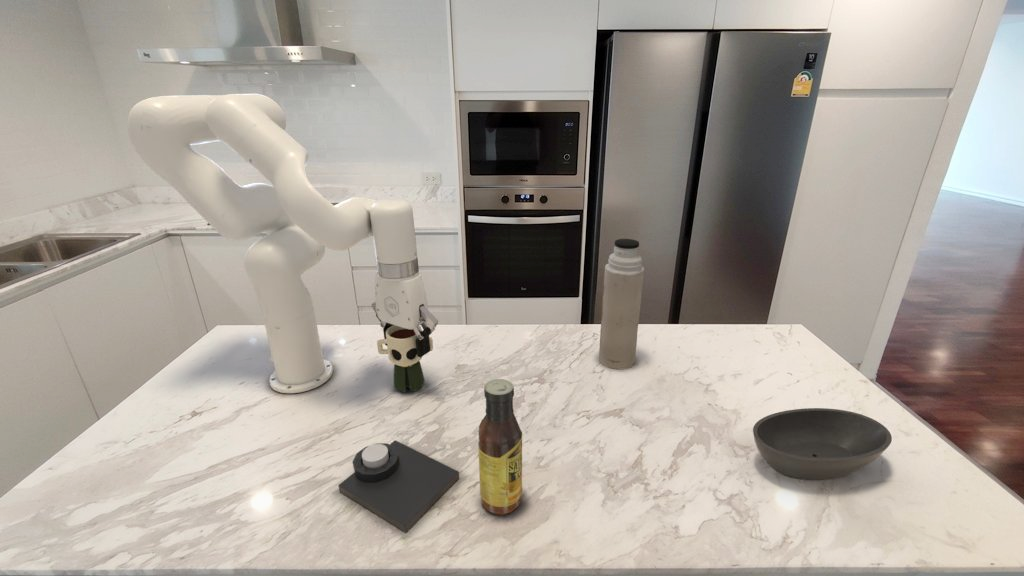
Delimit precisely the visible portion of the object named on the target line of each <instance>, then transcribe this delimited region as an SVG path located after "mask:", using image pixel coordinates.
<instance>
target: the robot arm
mask: <svg viewBox="0 0 1024 576" xmlns="http://www.w3.org/2000/svg"><path fill="white" fill-rule="evenodd" d="M286 126H287V119H286V116H285V113H284V111H283V109H282V108H281V106H280V105H279V104H278V103H277V102H276V101H275V100H274V99H272V98H271V97H269V96H267V95H264V94H260V93H231V94H230V93H229V94H223V95H222V94H216V95H214V94H213V95H212V94H197V95H196V94H195V95H161V96H153V97H148V98H145V99H143V100H139V101H138V102H137V103H135V104H134V105H133V106H132V108H131V109H130V110H129V113H128V116H127V132H128V136H129V140H130V142H131V144H132V147H133V148H134V150H135V152H136V154H137V155H138V157H139V158H140V159H141V160H142V161H143V163H144V164H145V165H146V166H147V167H148V168H149V169H150V170H152V171H153V172H154V173H155V174H156V175H157V176H159V178H161V179H162V180H163V181H164V182H166V183H167V184H168V185H169V186H171V187H172V188H173V189H174V190H175V191H176V192H177V193H178V194H179V195H180V196H181V197H182V198H183V199H184V200H185V201H186V202H187V204H189V205H190V207H192V208H193V209H194V210H195V212H197V213H198V214H199V216H201V218H202V219H203V220H204V221H205V222H207V224H209V225H210V226H211V227H212V228H213V229H214V230H215V231H216V232H217V233H218V234H219V235H220V236H221V237H222V238H224V239H225V240H228V241H231V242H241V241H245V240H248V239H250V238H253V237H256V236H258V235H260V234H262V233H264V234H266V235H265V236H264V237H262V238H260V239H258V240H256V241H255V242H254V243H252V245H250V247H249V248H248V249H247V251H246V253H245V255H244V261H243V262H244V269H245V272H246V274H247V276H248V278H249V280H250V283H251V285H252V287H253V289H254V292H255V294H256V297H257V301H258V304H259V308H260V313H261V316H262V320H263V323H264V324H263V325H264V328H265V333H266V336H267V341H268V345H269V349H270V353H271V354H270V356H269V359H268V361H270V362H272V363H273V366H274V370H273V372H272V373H271V374H270V376H269V380H268V382H269V385H270V388H271V389H272V390H274V391H276V392H278V393H282V394H298V393H304V392H308V391H311V390H313V389H317V388H318V387H320V386H323V384H325V383H326V382H328V381H329V379H331V378H332V376H333V373H334V368H333V367H334V366H333V364H332V363H331V361H329V360H328V359H325V358H324V355H323V351H322V346H321V341H320V334H319V329H318V323H317V319H316V313H315V308H314V303H313V299H312V296H311V293H310V291H309V289H308V287H307V286H306V284H305V283H304V282H303V279H302V275H303V274H304V273H306V272H307V271H308V270H310V269H311V268H313V267H314V266H316V265H317V264H319V262H320V261H321V260H322V259H323V257H324V255H325V252H326V248H327V249H328V250H332V251H337V252H338V251H339V252H340V251H346V250H350V249H351V248H352V247H354V246H356V245H357V244H358V243H360V242H361V241H363V240H365V239H367V238H370V237H372V239H373V246H374V253H375V263H376V269H377V272H376V273H375V278H374V297H375V298H374V300H375V301H374V302H372V303H371V307H372V310H373V312H374V313H375V316H376V318H377V320H378V321H379V322H380V323H379V325H380V327H381V328H382V332H383V339H386V331H387V329H388V328H389V327H391V326H393V325H396V326H399V327H402V328H405V329H410V330H411V329H413V330H414V332H415V334H416V335H417V337H418V338H417V339H416V349H417V356H418V357H422V358H423V356H425V355H428V353H430V352H431V351H430V340H429V337H430V335H432V333H433V332H435V330H436V327H437V326H438V324H439V320H438V318H436V317H435V316H434V315H433V313H432V312H430V311H429V306H428V299H427V293H426V289H425V285H424V280H423V278H422V274H421V273H420V269H419V268H420V267H419V259H418V250H417V249H418V248H417V240H416V230H415V220H414V219H415V218H414V211H413V207H412V205H411V203H410V202H408V201H407V200H402V199H387V200H386V199H385V200H379V199H373V198H369V197H360V196H355V197H351V198H349V199H345V200H344V201H341V202H338V203H337V204H333V203H331V201H329V200H328V199H327V198H326V197H324V196H323V195H322V194H321V193H320V192H319V191H318V190H317V189H316V188H315V187H314V186H313V185H312V183H311V181H310V180H309V178H308V176H307V174H306V167H307V164H308V161H309V153H308V151H307V149H306V148H305V147H304V146H303V145H302V144H300V143H299V142H298V141H297V140H295V138H293V137H292V136H291V135H290V134H289V133H288V132H287V131H285V130H286ZM215 142H222V143H223V144H224V145H226V146H227V147H228V148H229V149H230V150H231V151H233V152H234V153H235V154H236V155H237V156H239V157H240V158H241V159H242V160H244V161H245V162H246V163H248V164H249V166H251V167H252V168H254V170H255V171H257V172H258V173H259V174H260V175H261V176H263V177H264V178H265V179H266V180H267V181H269V183H271V184H272V185H271V184H269V183H264V182H254V183H249V184H245V185H240V184H238V183H237V182H236V181H234V180H233V178H232V177H230V176H229V175H228V173H226V172H225V170H224V169H223V168H222V167H221V166H220V165H218V164H217V162H215V161H213V160H212V159H211V158H209V157H207V156H205V155H204V154H202V153H200V152H198V151H196V150H195V149H193V148H192V147H191V146H194V145H196V146H197V145H203V144H208V143H215ZM418 326H420V327H421V329H422V332H421V330H420V328H419V327H418ZM384 345H385V346H387V344H384Z"/></svg>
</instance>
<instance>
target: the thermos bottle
mask: <svg viewBox="0 0 1024 576" xmlns="http://www.w3.org/2000/svg"><path fill="white" fill-rule="evenodd" d="M639 247H640V242H639V240H636V239H633V238H618V239H615V240H614V247H613V253H611V254H609V255H608V259H607V261H608V263H607V264H605V266H604V275H603V276H604V277H603V279H604V280H603V291H602V304H601V305H602V306H601V307H602V308H601V319H600V320H601V321H600V334H599V335H600V336H599V348H598V349H599V350H598V360H599V362H600V364H602V366H605V367H607V368H610V369H614V370H625V369H626V370H627V369H630V368H631V367H633V366H634V365H635V362H636V353H637V344H638V330H639V322H640V315H641V304H642V294H643V285H644V275H645V267H644V266H643V265H642V264H643V263H642V262H643V260H642V256H641V255H639Z"/></svg>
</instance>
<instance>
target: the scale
mask: <svg viewBox="0 0 1024 576" xmlns="http://www.w3.org/2000/svg"><path fill="white" fill-rule="evenodd" d="M376 444H383V445H385V446H386V447H387V449H388V455H389V460H388V462H387V463H386V464H385V465H384V466H382V467H379V468H376V469H368V468H366V467H365V466H364V465H363V460H362V452H363V451H364V449H365V448H367V447H368V446H369V445H367V446H365V447H363V448H362V449H360V450H359V451H358V452H357V453H356V454H355V456H354V458H353V460H352V467H353V473H352V474H351V475H349V476H348V477H347V478H345V479H344V480H343V481H342V482H340V483H339V484H338V491H339V493H340V494H342V495H343V496H345V497H347V498H349V499H350V500H352V501H353V502H355V503H356V504H358V505H359V506H361V507H363V508H365V509H366V510H368V511H370V512H371V513H373V514H374V515H376V516H378V517H379V518H381V519H383V520H384V521H386V522H387V523H389V524H390V525H392V526H394V527H395V528H397V529H399V530H400V531H402V532H403V533H408V532H409V530H411V529H412V528H413V527H414V525H416V524H417V522H418V521H419V520H421V519H422V517H424V516H425V514H426V513H427V512H428V511H429V510H430V509H431V508H432V507H433V506H434V505H435V504H436V503H437V502H438V501H439V500H440V499H441V498H442V497H443V496H444V495H445V494H446V493H447V492H448V490H450V489H451V488H452V487H453V485H454V484H455V483H457V482H458V480H459V479H460V472H459V471H458V470H456V469H454V468H452V467H451V466H449V465H446V464H445V463H442V462H440V461H438V460H437V459H434V458H432V457H430V456H428V455H426V454H424V453H422V452H420V451H419V450H416V449H414V448H412V447H410V446H408V445H406V444H404V443H402V442H400V441H398V440H396V439H395V440H393V441H392V442H391V443H390V444H389V443H385V442H384V443H382V442H380V443H379V442H378V443H377V442H376Z"/></svg>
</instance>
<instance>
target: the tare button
mask: <svg viewBox="0 0 1024 576" xmlns="http://www.w3.org/2000/svg"><path fill="white" fill-rule="evenodd" d="M367 446H368V447H367ZM367 446H366V447H367V448H365V447H364V448H365V449H364V451H363V452H362V460H363V465H364V466H365V467H366V468H368V469H376V468H379V467H382V466H384V465H385V464H386V463H387V462H388V460H389V455H388V449H387V447H386V446H385V445H383V444H377V443H373V444H371V445H367Z"/></svg>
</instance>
